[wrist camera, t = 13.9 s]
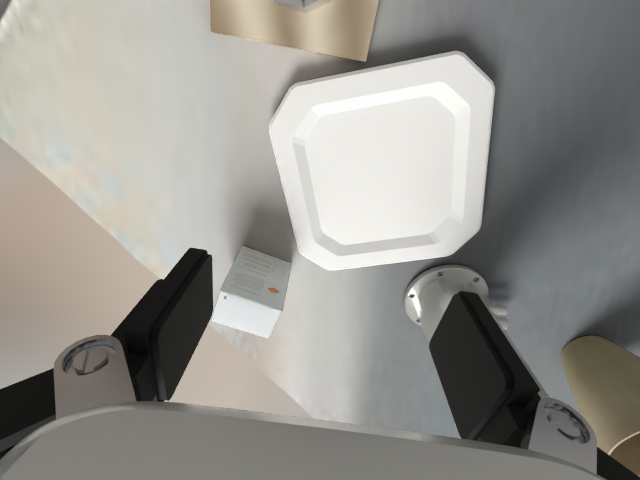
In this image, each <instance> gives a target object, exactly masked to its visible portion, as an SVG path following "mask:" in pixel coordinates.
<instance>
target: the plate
mask: <svg viewBox="0 0 640 480" xmlns="http://www.w3.org/2000/svg"><path fill="white" fill-rule="evenodd" d="M494 95H495V86H494V83H493V81H492V80H491V79H490V78H489V77H488V76H487V75H486V74H485V73H484V72H483V71H482V70H481V69H480V68H479V67H478V66H477V65H476V64H475V63H474V62H473V61H472V60H471V59H470V58H469V57H467V56H466V55H465V54H464V53H463V52H459V51H451V52H446V53H441V54H436V55H431V56H427V57H422V58H417V59H412V60H407V61H402V62H397V63H392V64H387V65H382V66H377V67H372V68H367V69H362V70H357V71H352V72H347V73H342V74H337V75H332V76H327V77H322V78H317V79H312V80H307V81H302V82H297V83H295V84H294V85H292V86H291V87H290V88H289V90H288V91H287V93H286V95H285V97H284V98H283V100H282V102H281V104H280V105H279V107H278V109H277V111H276V112H275V114H274V116H273V118H272V119H271V121H270V123H269V134H270V138H271V142H272V146H273V150H274V154H275V158H276V162H277V166H278V170H279V174H280V178H281V182H282V186H283V190H284V194H285V198H286V202H287V206H288V210H289V214H290V218H291V222H292V226H293V230H294V235H295V239H296V243H297V247H298V251H299V252H300V253H301V254H302V255H303V256H305V257H306V258H308V259H310V260H311V261H313V262H315V263H316V264H318V265H320V266H321V267H323V268H325V269H327V270H331V271H333V270H341V269H349V268H357V267H365V266H373V265H381V264H389V263H398V262H406V261H414V260H422V259H430V258H438V257H446V256H449V255H452V254H454V253H455V252H456V251H457V250H458V249H459V248H460V247H461V246H462V245H464V244H465V243H466V242H467V241H468V240H469V239H470V238H471V237H473V236H474V235H475V234H476V233H477V232H478V231H479V229H480V227H481V223H482V213H483V203H484V193H485V184H486V174H487V164H488V154H489V144H490V134H491V125H492V115H493V105H494Z"/></svg>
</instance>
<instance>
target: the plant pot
mask: <svg viewBox="0 0 640 480" xmlns="http://www.w3.org/2000/svg"><path fill="white" fill-rule="evenodd" d="M561 359H562V363H563V366H564V370H565V373H566V376H567V379H568V382H569V385H570V388H571V390H572V393H573V396H574V398H575V401H576V403H577V405H578V407H579V410H580V412H581V414H582V417H583V418H584V419H585V420H586V421H587V422H588V424H589V425H590V426H591V428H592V429H593V431H594V433H595V435H596V440H597V446H598V448H600V449H601V450H603V451H604V452H605V453H607V454H608V455H610V456H611V457H612V458H614V459H615V460H617V461H618V462H619V463H621V464H622V465H624V466H625V467H626V468H628V469H629V470H631V471H632V472H633V473H635V474H636V475H638V476H639V477H640V357H638V356H636V355H635V354H633V353H631V352H629V351H627V350H626V349H624V348H622V347H620V346H618V345H616V344H614V343H612V342H610V341H608V340H606V339H604V338H602V337H600V336H584V337H580V338H577V339H575V340H573V341H571V342H569V343H568V344H567V345H566V346H565V347H564V348H563V349H562V351H561Z"/></svg>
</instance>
